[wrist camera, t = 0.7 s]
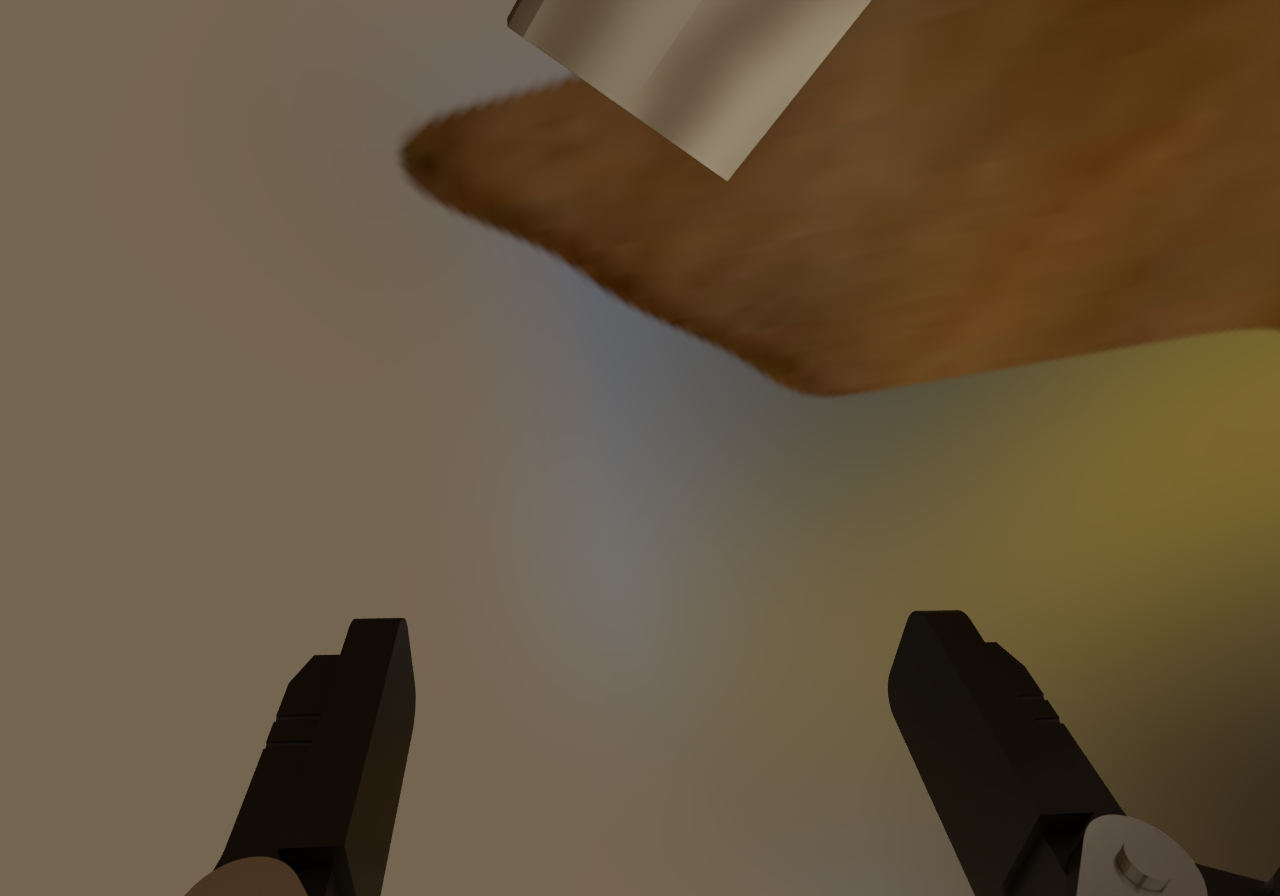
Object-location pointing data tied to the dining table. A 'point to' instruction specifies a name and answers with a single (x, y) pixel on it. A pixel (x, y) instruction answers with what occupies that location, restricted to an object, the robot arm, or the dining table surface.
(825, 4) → the floor panel
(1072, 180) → the dining table surface
